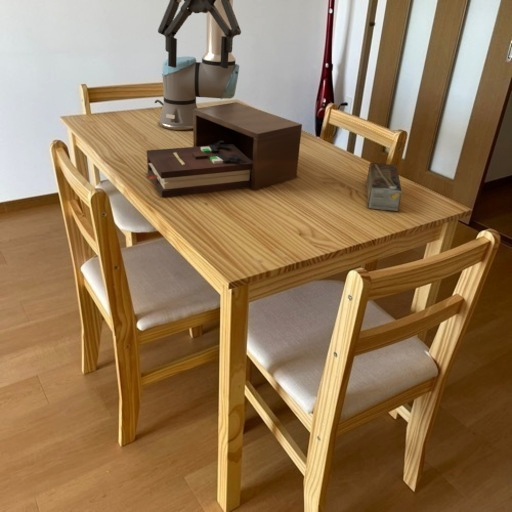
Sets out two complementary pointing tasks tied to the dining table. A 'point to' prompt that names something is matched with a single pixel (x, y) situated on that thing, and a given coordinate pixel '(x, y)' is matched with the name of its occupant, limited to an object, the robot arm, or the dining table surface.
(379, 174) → the beverage carton
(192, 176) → the decorative book
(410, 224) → the dining table surface
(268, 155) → the walnut shelf
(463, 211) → the dining table surface
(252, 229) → the dining table surface
